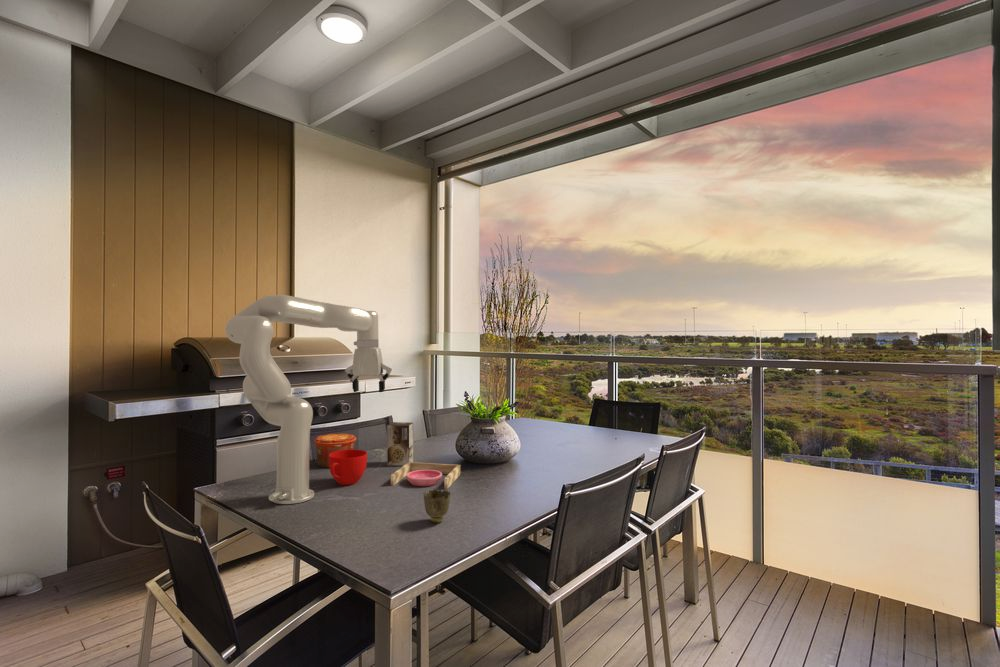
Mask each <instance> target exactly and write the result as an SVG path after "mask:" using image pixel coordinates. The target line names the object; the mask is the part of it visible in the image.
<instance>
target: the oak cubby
mask: <svg viewBox="0 0 1000 667" xmlns="http://www.w3.org/2000/svg"><path fill="white" fill-rule="evenodd" d="M416 470H436V471H440V472H441V473H442V475H446V477H444V482H443V484H444V485H443V486H444V487H443V488H444V489H445V490H448V489H449V488H450V487H451V485H452V484H453V483H454V482H455V481H456V480H457V479H458V478H459V477H460V476H461V464H451V463H450V464H449V463H433V462H418V461H415V462H414V461H413V462H408V463H407V464H406V465H404V466H400V468H399V469H397V470H396V471H395V472H393V473H391V475H390V486H393V487H394V486H395V485H396V484H397V483H399V482H400V481H401V480H402V479H404V478H406V475H407V474H408V473H409V472H412V471H416Z"/></svg>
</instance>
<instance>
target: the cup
mask: <svg viewBox="0 0 1000 667" xmlns="http://www.w3.org/2000/svg"><path fill="white" fill-rule="evenodd" d="M428 490H429V491H428V492H427V493H426V491H424V492H423V502H424V510H425V513H426V515H427V516H429V517H430V518H429V520H430V522H431V523H433V524H439V523H442V522H443V520H444V516H445V515H446V514H447V513H448V510H449V508H450V507H449V506H450V500H451V492H450V491H448V490H446V489H444V490H441V488H440V489H439V490H438V489H436V488H434V489H433V490H431V489H428Z"/></svg>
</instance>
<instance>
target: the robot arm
mask: <svg viewBox="0 0 1000 667" xmlns="http://www.w3.org/2000/svg"><path fill="white" fill-rule="evenodd" d="M273 323H285V324H291V325H298V326H305V327H310V328H319V329H322V328H323V329H329V328H330V329H331V328H333V329H337V330H338V331H342V332H356V341H354V342H353V345H354V346H356V348H355V349H354V353H353V360H352V364H351V365H350V366H347V367H346V368H345V369H344V371H345V373H346V374H347V377H348V378H349V379H350V380H351V382H352V391H353V393H356V392H359V389H360V387H359V385H360V384H359V382H360V381H359V380H358V378H360V377H377V379H378V380H379V381H378V392H379V393H382V392H383V393H384V391H385V390H386V381H387V379H388V378H389V377H390V374H391V373H392V371H393V369H392V368H391V367H390V366H387V365H385V364H384V362H383V355H382V351H381V348H380V346H379V314H378V312H377V311H375V310H365V309H363V308H357V307H352V306H348V305H347V306H346V305H342V304H334V303H329V302H325V301H324V302H323V301H317V300H312V299H307V298H302V297H297V296H293V295H287V294H273V295H272V294H271V295H265V296H263V297H260V298H259V299H257V300H256V301H254V302H253V303H251V304H250V305H248V306H247V307H245V308H244V309H242V310H241V311H239V312H237V313H236V314H235V315H234V316H232V317H231V318H230V319H229V320H228V321H227V323H226V325H225V335H226V337H227V338H228V340H229V341H231V342H233V343H235V344H238V345H239V344H240V350H239V355H238V356H239V364H240V367H241V369H242V371H243V372H244V373H245V375H246V376H245V377H244V379H243V381H242V391H243V393H244V395H245V398H246V399H247V401H248V402H249V403H250V404H251V405H252V407H253V408H254V410H256V411H257V414H259V416H260V417H261V418H262V419H263V420H264V421H265V422H267V423H268V424H271V425H274V426H279V427H280V430H279V433H278V436H277V439H276V487H275V491H274V492H273V493H271V494H269V495H268V500H269V501H271V502H272V503H274V504H279V505H293V504H301V503H303V502H304V503H305V502H307V501H309V500H311V499H313V498H314V497H315V491H314V490H313V489H311V488H310V436H311V434H310V433H311V426H312V422H313V418H314V410H313V406H312V405H311V404H310V403H309V401H307V400H306V399H304V398H301V397H298V396H297V397H295V396H290V395H291V392H292V386H291V383H290V380H289V379H288V378H287V376H286V375H285V374H284V372H283V370H281V368H280V367H279V365H278V364H277V363H276V361H275V360H274V357H273V356H272V354H271V342H272V340H273V337H274V334H275V333H274V325H273ZM384 370H385V373H384ZM351 371H352V372H351ZM383 373H384V374H383Z"/></svg>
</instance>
